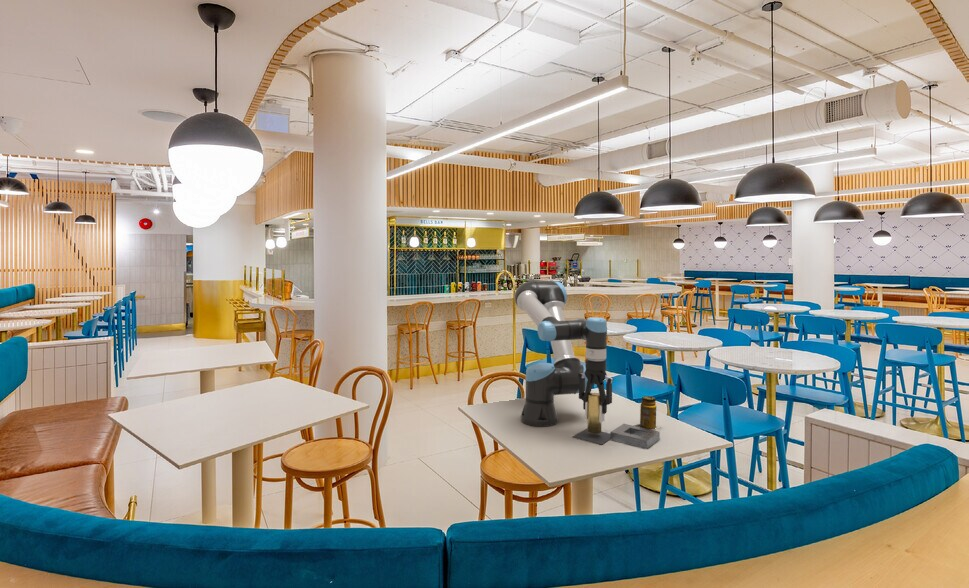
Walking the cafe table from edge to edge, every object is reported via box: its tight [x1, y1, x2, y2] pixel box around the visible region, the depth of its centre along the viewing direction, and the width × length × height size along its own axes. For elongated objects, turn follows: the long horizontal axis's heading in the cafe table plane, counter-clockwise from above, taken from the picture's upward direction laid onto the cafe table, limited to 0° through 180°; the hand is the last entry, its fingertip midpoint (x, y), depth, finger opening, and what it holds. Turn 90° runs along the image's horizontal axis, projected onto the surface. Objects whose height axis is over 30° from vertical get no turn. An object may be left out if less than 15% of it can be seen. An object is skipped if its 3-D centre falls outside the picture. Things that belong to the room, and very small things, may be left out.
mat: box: [571, 428, 611, 446], centre depth 188 cm, size 12×12×1 cm
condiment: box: [632, 395, 661, 431], centre depth 198 cm, size 7×8×12 cm
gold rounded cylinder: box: [586, 392, 603, 433], centre depth 187 cm, size 5×5×14 cm
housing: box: [609, 423, 661, 450], centre depth 185 cm, size 14×12×3 cm
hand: (594, 419), depth 187 cm, fingers closed on gold rounded cylinder, 5 cm apart
